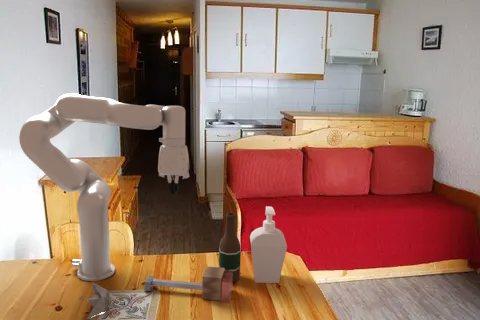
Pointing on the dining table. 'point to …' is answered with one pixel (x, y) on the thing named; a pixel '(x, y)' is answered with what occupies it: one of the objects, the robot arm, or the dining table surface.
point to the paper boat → (98, 300)
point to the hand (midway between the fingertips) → (173, 193)
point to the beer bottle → (230, 248)
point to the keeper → (212, 283)
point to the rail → (192, 285)
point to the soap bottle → (268, 250)
